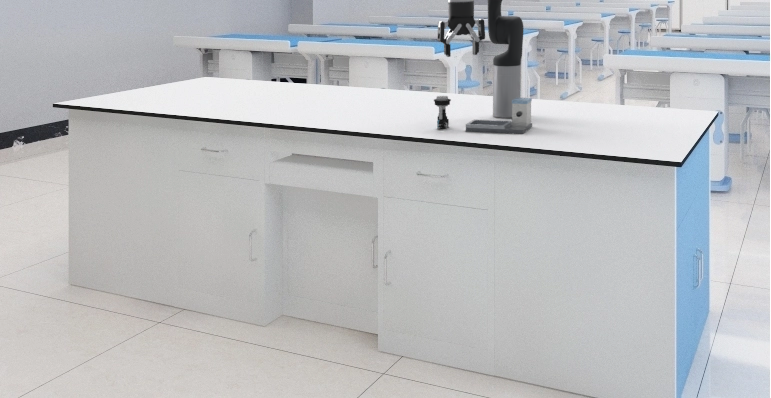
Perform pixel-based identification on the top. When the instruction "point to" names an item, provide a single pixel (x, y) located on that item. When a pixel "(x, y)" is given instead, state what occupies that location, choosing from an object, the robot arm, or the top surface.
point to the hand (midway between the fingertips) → (461, 55)
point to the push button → (442, 111)
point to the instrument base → (516, 126)
